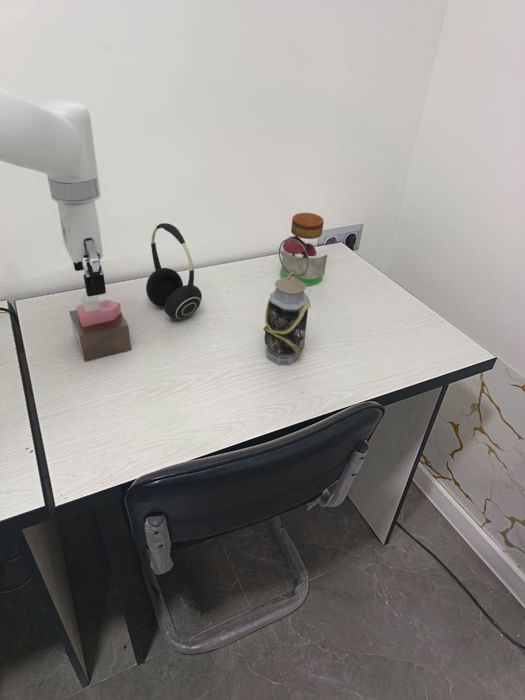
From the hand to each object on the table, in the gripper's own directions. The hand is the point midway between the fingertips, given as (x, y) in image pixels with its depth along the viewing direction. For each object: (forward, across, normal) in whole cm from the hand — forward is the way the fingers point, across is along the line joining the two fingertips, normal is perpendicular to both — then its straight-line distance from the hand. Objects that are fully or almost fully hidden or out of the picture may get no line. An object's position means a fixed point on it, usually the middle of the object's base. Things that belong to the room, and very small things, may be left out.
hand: (90, 281), depth 89 cm
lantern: (+14, +18, +32) cm, 39 cm away
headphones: (+14, -5, +18) cm, 23 cm away
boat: (+8, 0, +1) cm, 8 cm away
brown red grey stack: (+14, -8, +52) cm, 54 cm away
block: (+14, 0, +1) cm, 14 cm away
